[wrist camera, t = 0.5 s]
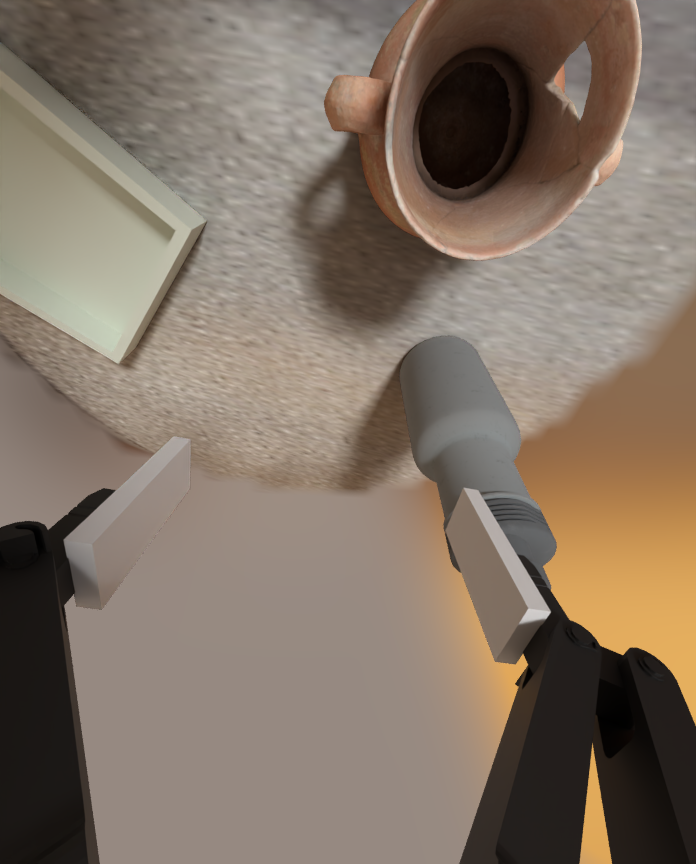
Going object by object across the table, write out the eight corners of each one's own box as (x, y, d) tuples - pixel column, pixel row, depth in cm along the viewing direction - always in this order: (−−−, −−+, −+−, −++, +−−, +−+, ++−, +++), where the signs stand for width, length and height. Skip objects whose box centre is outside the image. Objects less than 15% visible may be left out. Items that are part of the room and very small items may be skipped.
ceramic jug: (600, 28, 24) (796, -56, 13) (501, 250, 33) (569, 305, 23) (351, -53, 22) (346, -229, 11) (320, 207, 31) (301, 246, 21)
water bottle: (481, 393, 45) (593, 626, 24) (407, 411, 47) (449, 638, 26) (475, 322, 38) (621, 552, 17) (390, 346, 40) (428, 577, 19)
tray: (-23, 21, 24) (-77, 5, 21) (207, 220, 32) (191, 229, 29) (-50, 231, 33) (-90, 240, 30) (136, 347, 41) (118, 364, 38)
